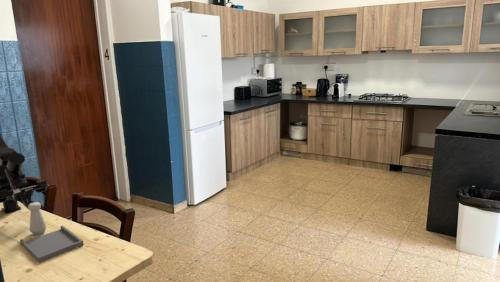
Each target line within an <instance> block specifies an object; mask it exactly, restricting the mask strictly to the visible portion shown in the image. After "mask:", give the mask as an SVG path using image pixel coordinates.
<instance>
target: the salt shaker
mask: <svg viewBox="0 0 500 282" xmlns="http://www.w3.org/2000/svg"><path fill="white" fill-rule="evenodd" d="M41 206H42V205H41V203H40V202H38V201H34V202H31V203H30V204H29V205H28V209H27V210H28V211H30V217H29V220H30V221H29V232H30V233H31V234H32V235H33V236H37V237H40V236H42V235H44V233H45V232H46V229H47V224H46V221H45V219H44V216H43V214H42V211H41V208H42V207H41Z"/></svg>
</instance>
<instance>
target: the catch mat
mask: <svg viewBox="0 0 500 282" xmlns="http://www.w3.org/2000/svg"><path fill="white" fill-rule="evenodd" d="M19 243H20V245H21V246H22V247H23V248H24V249H25V250H26V252H28V253H29V254H30V255H31V256H32V257H33V258H34V260H36V261H37V262H38V264H40V263H42V262H45V261H47V260H50V259H52V258H55V257H57V256H60V255H62V254H64V253H65V254H66V253H67V252H70V251H72V250H74V249H77V248H80V247H83V246H84V240H83V239H81V238H80V237H79V236H77V235H76V234H75V233H73V232H72V231H71V230H69V229H68V228H66V226H64V225H60V229H58V230H55V231H51V232H48V233H47V234H42V235H39V236H37V237H34V238H32V239H29V240H26V241H25V240H24V239H23V238H21V239H19Z"/></svg>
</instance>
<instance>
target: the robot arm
mask: <svg viewBox="0 0 500 282" xmlns="http://www.w3.org/2000/svg"><path fill="white" fill-rule="evenodd" d="M25 160H26V157H25V155H24V154H22V153H19V152H17V150H15V149H14V148H13V147H9V146H8V144H7V143H6V142H5V140H4V139H3V137H2V133H1V132H0V204H1V203H2V207H1V211H2V212H3V213H5V214H8V213H11V212H15V211H19V210H21V209H22V207H21V206H20V205H19V202H20V203H21V204H22V205H23V206H24V207H25V208H27V210H29V209H28V205H29V204H30V203H32V197H33V196H34V193H38V194H39V193H44V192H46V191H47V189H48V186H49V183H48V181H47V180H45V179H42V180H39V181H36V182H35V185H31V186H29V182H28V181H27V179H26V174H25V173H24V171H23V168H24V165H25Z"/></svg>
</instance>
